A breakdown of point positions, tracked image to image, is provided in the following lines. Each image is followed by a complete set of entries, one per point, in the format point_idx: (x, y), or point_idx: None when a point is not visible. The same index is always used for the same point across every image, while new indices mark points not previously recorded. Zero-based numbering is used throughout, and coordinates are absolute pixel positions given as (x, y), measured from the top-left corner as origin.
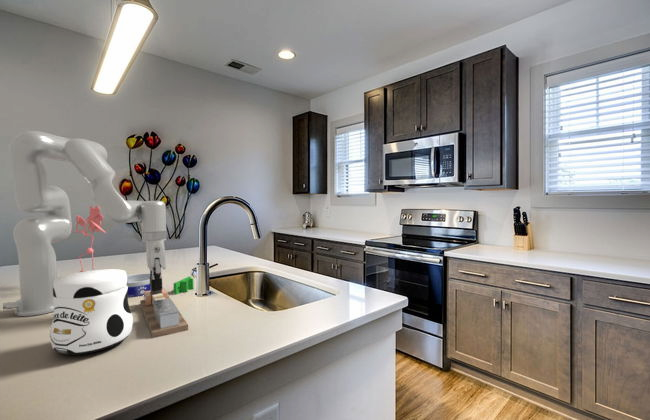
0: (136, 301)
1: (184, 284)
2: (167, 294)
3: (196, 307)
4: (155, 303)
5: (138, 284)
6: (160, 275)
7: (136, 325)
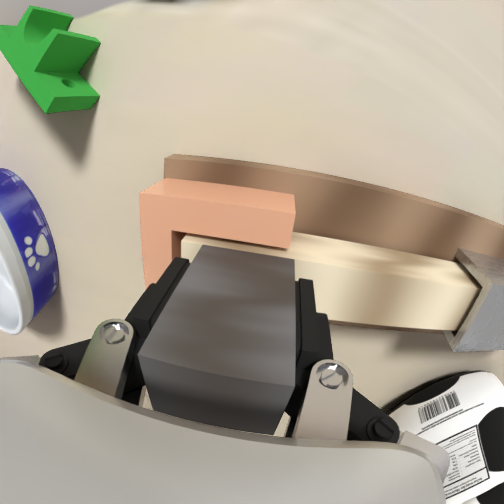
0: (114, 279)
1: (62, 48)
2: (294, 212)
3: (440, 96)
4: (488, 348)
5: (22, 280)
6: (347, 401)
7: (423, 345)
